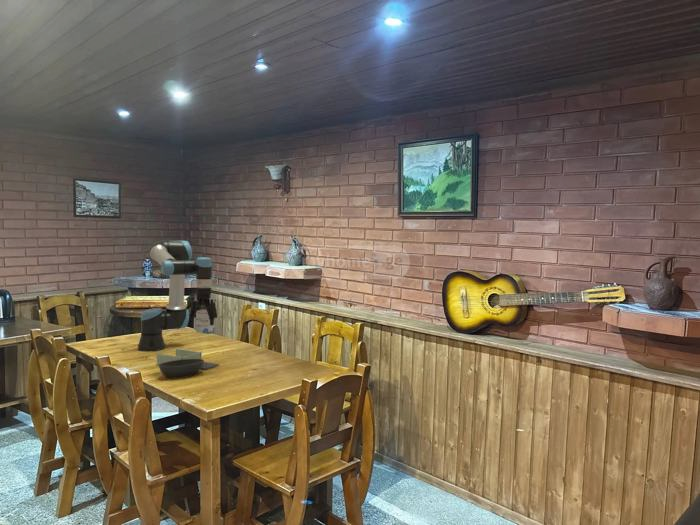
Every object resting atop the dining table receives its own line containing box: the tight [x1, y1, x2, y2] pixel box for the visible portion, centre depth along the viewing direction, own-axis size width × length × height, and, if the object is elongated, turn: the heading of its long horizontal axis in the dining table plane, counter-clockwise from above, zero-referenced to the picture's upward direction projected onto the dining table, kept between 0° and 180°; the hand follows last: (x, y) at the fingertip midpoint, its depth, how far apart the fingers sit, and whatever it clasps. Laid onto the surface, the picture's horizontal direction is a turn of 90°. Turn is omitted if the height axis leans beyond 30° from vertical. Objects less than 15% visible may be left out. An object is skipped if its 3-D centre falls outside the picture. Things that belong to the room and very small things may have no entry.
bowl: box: [157, 358, 205, 379], centre depth 243 cm, size 12×22×6 cm, turn 128°
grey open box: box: [156, 348, 203, 366], centre depth 262 cm, size 17×14×6 cm
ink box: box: [195, 309, 215, 335], centre depth 260 cm, size 8×5×12 cm, turn 68°
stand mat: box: [200, 361, 220, 371], centre depth 259 cm, size 10×10×1 cm
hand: (203, 330), depth 259 cm, fingers closed on ink box, 9 cm apart
